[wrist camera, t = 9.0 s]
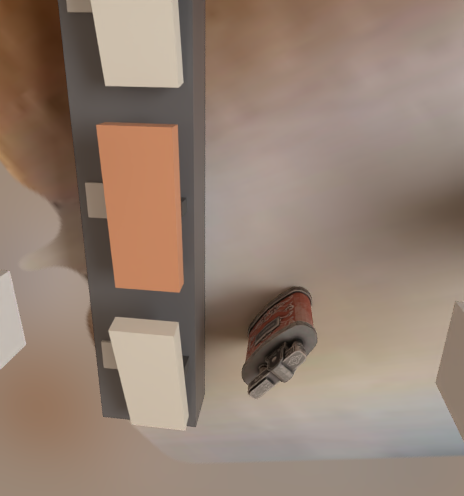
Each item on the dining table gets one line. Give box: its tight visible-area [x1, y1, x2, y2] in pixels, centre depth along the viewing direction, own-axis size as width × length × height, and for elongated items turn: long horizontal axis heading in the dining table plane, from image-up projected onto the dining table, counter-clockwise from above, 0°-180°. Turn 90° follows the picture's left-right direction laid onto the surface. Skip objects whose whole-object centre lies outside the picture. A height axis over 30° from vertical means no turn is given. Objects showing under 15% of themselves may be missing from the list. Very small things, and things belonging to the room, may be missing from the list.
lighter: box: [242, 287, 317, 399], centre depth 37 cm, size 8×3×10 cm, turn 138°
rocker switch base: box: [58, 0, 205, 427], centre depth 35 cm, size 50×10×7 cm, turn 179°
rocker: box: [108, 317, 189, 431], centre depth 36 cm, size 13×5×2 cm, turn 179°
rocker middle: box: [96, 122, 184, 293], centre depth 31 cm, size 13×5×2 cm, turn 179°
